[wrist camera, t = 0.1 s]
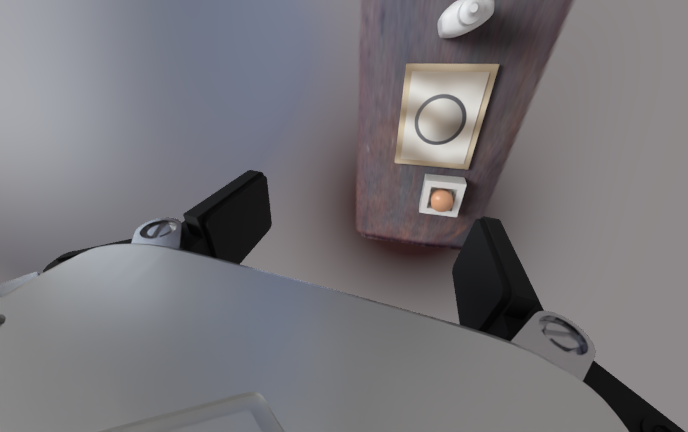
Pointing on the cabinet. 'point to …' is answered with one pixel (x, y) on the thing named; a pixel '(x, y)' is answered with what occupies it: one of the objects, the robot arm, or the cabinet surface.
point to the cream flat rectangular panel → (443, 113)
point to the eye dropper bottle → (464, 17)
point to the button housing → (436, 182)
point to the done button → (441, 200)
